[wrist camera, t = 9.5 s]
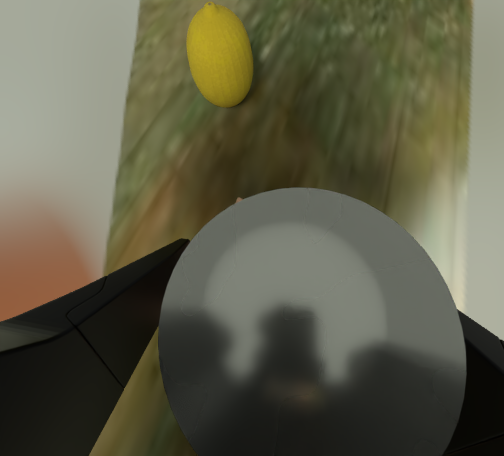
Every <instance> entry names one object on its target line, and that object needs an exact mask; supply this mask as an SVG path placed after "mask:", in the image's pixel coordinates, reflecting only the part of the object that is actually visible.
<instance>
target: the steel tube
mask: <svg viewBox="0 0 504 456" xmlns="http://www.w3.org/2000/svg"><path fill="white" fill-rule="evenodd" d="M158 349H159V361H160V369H161V374H162V379H163V384H164V388H165V391H166V394H167V397H168V400H169V403H170V406H171V409H172V411H173V414H174V416H175V418H176V420H177V422H178V424H179V426H180V429H181V430H182V432H183V434H184V435H185V437H186V438H187V440H188V442H189V443H190V445H191V446H192V448H193V450H194V451H195V452H196V453H197V454H198V456H442V454H443V453H444V451H445V449H446V448H447V446H448V444H449V443H450V440H451V438H452V435H453V433H454V430H455V428H456V425H457V423H458V420H459V416H460V412H461V408H462V404H463V400H464V393H465V384H466V349H465V343H464V337H463V330H462V326H461V322H460V319H459V315H458V312H457V308H456V305H455V303H454V301H453V298H452V296H451V293H450V291H449V289H448V286H447V284H446V283H445V281H444V279H443V277H442V276H441V274H440V272H439V270H438V268H437V267H436V265H435V264H434V263H433V261H432V260H431V258H430V257H429V256H428V254H427V253H426V252H425V250H424V249H423V248H422V247H421V246H420V245H419V244H418V242H417V241H416V240H415V239H414V238H413V237H412V236H411V235H410V234H409V233H408V232H407V231H406V230H404V229H403V228H402V227H401V226H400V225H399V224H398V223H397V222H395V221H394V220H392V219H391V218H390V217H388V216H387V215H385V214H384V213H382V212H381V211H379V210H378V209H376V208H374V207H372V206H370V205H368V204H366V203H364V202H362V201H360V200H357V199H355V198H352V197H350V196H347V195H344V194H340V193H337V192H333V191H329V190H323V189H316V188H284V189H276V190H272V191H267V192H262V193H259V194H257V195H254V196H251V197H248V198H245V199H243V200H241V201H239V202H237V203H235V204H233V205H231V206H230V207H228V208H227V209H225V210H224V211H222V212H221V213H219V214H218V215H216V216H215V217H214V218H213V219H212V220H211V221H209V222H208V223H207V224H206V225H205V226H204V227H203V228H202V229H201V230H200V231H199V232H198V233H197V235H196V236H195V237H194V238H193V239H192V240H191V242H190V243H189V245H188V246H187V247H186V249H185V250H184V252H183V253H182V255H181V257H180V258H179V260H178V262H177V264H176V266H175V268H174V270H173V272H172V275H171V277H170V280H169V282H168V285H167V287H166V291H165V295H164V299H163V302H162V307H161V313H160V320H159V335H158Z"/></svg>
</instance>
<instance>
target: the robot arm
mask: <svg viewBox="0 0 504 456" xmlns="http://www.w3.org/2000/svg"><path fill="white" fill-rule="evenodd" d="M189 243H190V240H189V239H183V238H181V239H179V240H177V241H175V242H173V243H171V244H169V245H167V246H165V247H163V248H161V249H159V250H157V251H155V252H153V253H151V254H149V255H147V256H145V257H143V258H141V259H139V260H137V261H135V262H133V263H131V264H129V265H127V266H125V267H123V268H121V269H119V270H117V271H115V272H113V273H111V274H109V275H108V276H104V277H102V278H100V279H98V280H96V281H94V282H92V283H90V284H88V285H86V286H84V287H82V288H80V289H78V290H75V291H73V292H71V293H69V294H66V295H64V296H62V297H59V298H57V299H55V300H53V301H50V302H48V303H46V304H43V305H41V306H39V307H37V308H34V309H32V310H30V311H27V312H25V313H23V314H20V315H18V316H16V317H13V318H10V319H7V320H5V321H1V322H0V456H89V454H90V452H91V450H92V448H93V447H94V445H95V443H96V441H97V439H98V437H99V435H100V433H101V432H102V430H103V428H104V426H105V424H106V422H107V420H108V419H109V417H110V415H111V413H112V411H113V409H114V407H115V406H116V404H117V402H118V400H119V398H120V396H121V394H122V392H123V391H124V388H125V387H126V385H127V383H128V381H129V379H130V377H131V375H132V374H133V372H134V370H135V368H136V366H137V364H138V362H139V361H140V359H141V357H142V355H143V353H144V351H145V349H146V347H147V346H148V344H149V342H150V340H151V338H152V336H153V334H154V333H155V331H156V329H157V327H158V325H159V320H160V313H161V307H162V302H163V299H164V295H165V291H166V287H167V285H168V282H169V280H170V277H171V275H172V272H173V270H174V268H175V266H176V264H177V262H178V260H179V258H180V257H181V255H182V253H183V252H184V250H185V249H186V247H187V246H188V245H189ZM457 312H458V315H459V319H460V322H461V326H462V330H463V337H464V343H465V349H466V384H465V393H464V400H463V404H462V408H461V412H460V416H459V420H458V423H457V425H456V428H455V430H454V433H453V435H452V438H451V440H450V443H449V444H448V446H447V448H446V449H445V451H444V453H443V454H442V456H504V341H503V340H500V339H499V338H498V337H497V336H495V335H494V334H493V333H491V332H490V331H488V330H487V329H485V328H484V327H482V326H481V325H479V324H478V323H477V322H475V321H474V320H472V319H471V318H469V317H468V316H466V315H465V314H463V313H462V312H460V311H459V310H458V309H457Z"/></svg>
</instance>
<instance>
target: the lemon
mask: <svg viewBox="0 0 504 456" xmlns="http://www.w3.org/2000/svg"><path fill="white" fill-rule="evenodd" d="M187 54H188V60H189V65H190V69H191V73H192V76H193V78H194V81H195V83H196V85H197V86H198V88H199V90H200V92H201V93H202V95H203V96H204V97H205V98H206V99H207V100H208V101H209V102H211V103H212V104H214V105H216V106H219V107H226V108H228V107H233V106H235V105H237V104H239V103H240V102H241V101H242V100H243V99H244V98H245V97H246V95H247V93H248V91H249V89H250V87H251V82H252V77H253V58H252V50H251V45H250V41H249V38H248V35H247V33H246V30H245V28H244V26H243V24H242V22H241V21H240V19H239V18H238V17H237V16H236V15H235V14H234V13H233V12H232V11H231V10H229V9H228V8H226V7H224V6H221V5H215V4H214V3H213V2H207V3H206V4H205V6H204V7H203V8H202V9H200V10H199V11H198V12H197V13H196V15H195V16H194V17H193V19H192V21H191V23H190V26H189V29H188V34H187Z"/></svg>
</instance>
